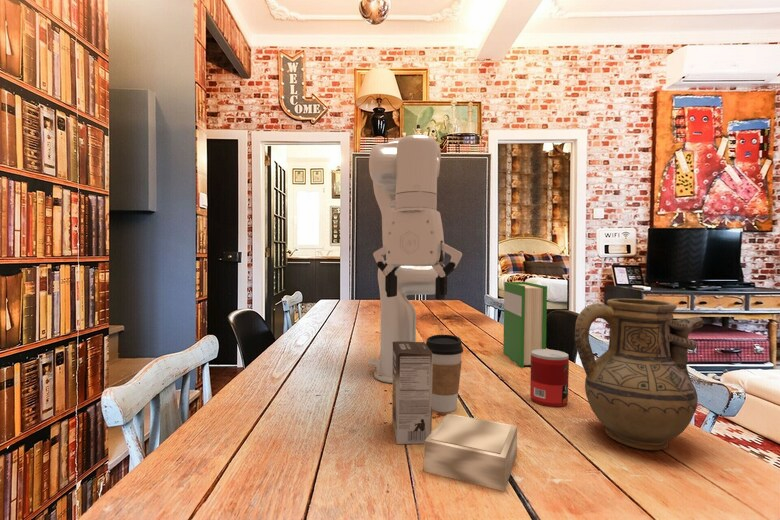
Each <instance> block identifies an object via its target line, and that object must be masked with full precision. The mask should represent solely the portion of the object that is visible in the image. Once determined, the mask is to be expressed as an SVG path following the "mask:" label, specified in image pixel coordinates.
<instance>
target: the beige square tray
mask: <svg viewBox="0 0 780 520" xmlns="http://www.w3.org/2000/svg"><path fill="white" fill-rule="evenodd" d="M423 445H424V447H423V448H424V452H423V455H424V457H423V459H424V461H423V471H424V472H426V473H430V474H434V475H438V476H441V477H445V478H449V479H454V480H457V481H462V482H466V483H470V484H473V485H477V486H482V487H486V488H489V489H495V490H498V491H503V492H505V491H506V488H507V485H508V482H509V479H510V477H511V473H512V470H513V466H514V463H515V460H516V459H517V454H518V453H517V452H518V425H515V424H507V423H503V422H498V421H497V422H496V421H492V420H486V419H481V418H476V417H475V418H474V417H470V416H463V415H458V414H453V413H446V414H445V416H444V417H443V418H442V420H440V422H439V423H438V424H437V426H436V427H434V429H432V430H431V434H430V435H429V436H428V437H427V438H426V440H425V441H424V444H423Z"/></svg>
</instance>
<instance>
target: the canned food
mask: <svg viewBox="0 0 780 520" xmlns="http://www.w3.org/2000/svg"><path fill="white" fill-rule="evenodd" d="M569 359H570V357H569V354H568V353H566V352H565V351H561V350H555V349H549V348H548V349H547V348H546V349H537V350H533V351H531V365H530V392H529V393H530V399H531V401H532V402H534V403H536V404H537V405H541V406H544V407H550V408H551V407H552V408H560V407H561V408H562V407H565V406H566V405H567V404H568V402H569V378H570V377H569V374H570V373H569V370H570V361H569Z"/></svg>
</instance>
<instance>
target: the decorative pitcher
mask: <svg viewBox="0 0 780 520" xmlns="http://www.w3.org/2000/svg"><path fill="white" fill-rule="evenodd" d="M606 303H607V305H606V304H603V303H593V304H589V305H587V306H586V307H584V308H583V309H582V310H581V311H580V312H579V314H578V315H577V318H576V321H575V326H574V328H575V329H574V342H575V346H576V347H575V348H576V350H577V354H578V358H580V359H579V360H580V363H581V365H582V369H583V370H584V372H585V375H586V376H585V379H584V380H585V381H584V391H585V395H586V399H587V402H588V404H589V406H590V408H591V411H592V412H593V413H594V416H596V418H597V419H598V420H599V422H600V423H601V424H602V425H603V426H605V433H606V435H607V436H608V437H609V438H610V439H612V440H613V441H616V442H618V443H620V444H622V445H624V446H627V447H629V448H634V449H636V450H637V449H638V450H641V451H660V450H661V451H662V450H663V449H666V448H667V447H668V445H669V441H670V440H673V439H675V438H677V437H678V436H680V435H681V434H682V433H683V432H684V431H686V429H687V428H688V426H689V425H690V423H691V421H693V420H692V419H693V417H694V415H695V413H696V411H697V408H698V400H699V399H698V393H697V390H696V387H695V386H694V384H693V382H692V380H691V377H690V373H689V370H688V366H687V365H688V364H687V363H688V358H689V357H688V351H694V350H697V348H698V344H697V342H696V341H695V340H694V339H692V338H689V334H690V333H692V331H693V330H695V329H699V328H702V327H703V326H704V325H705V321H704V320H703V318H702V317H700V316H694V317H685V318H681V319H679V318H678V319H674V314H673V313H674V311H675V310H676V309H677V304H676V303H673V302H669V301H664V300H663V301H662V300H655V299H645V298H644V299H642V298H641V299H640V298H611V299H608V300H607V301H606ZM597 319H602V320H604V321H605V323H607V324H608V325H609V327H610V328H609V335H608V338H609V339H608V341H609V342H608V348H607V350H606V351H605V352H603V353H602V354H601V355H599V356H598V357H597V359H595V356H594V353H593V349H592V346H591V343H590V338H589V337H590V329H591V326H592V324H593V323H594V321H596V320H597Z"/></svg>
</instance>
